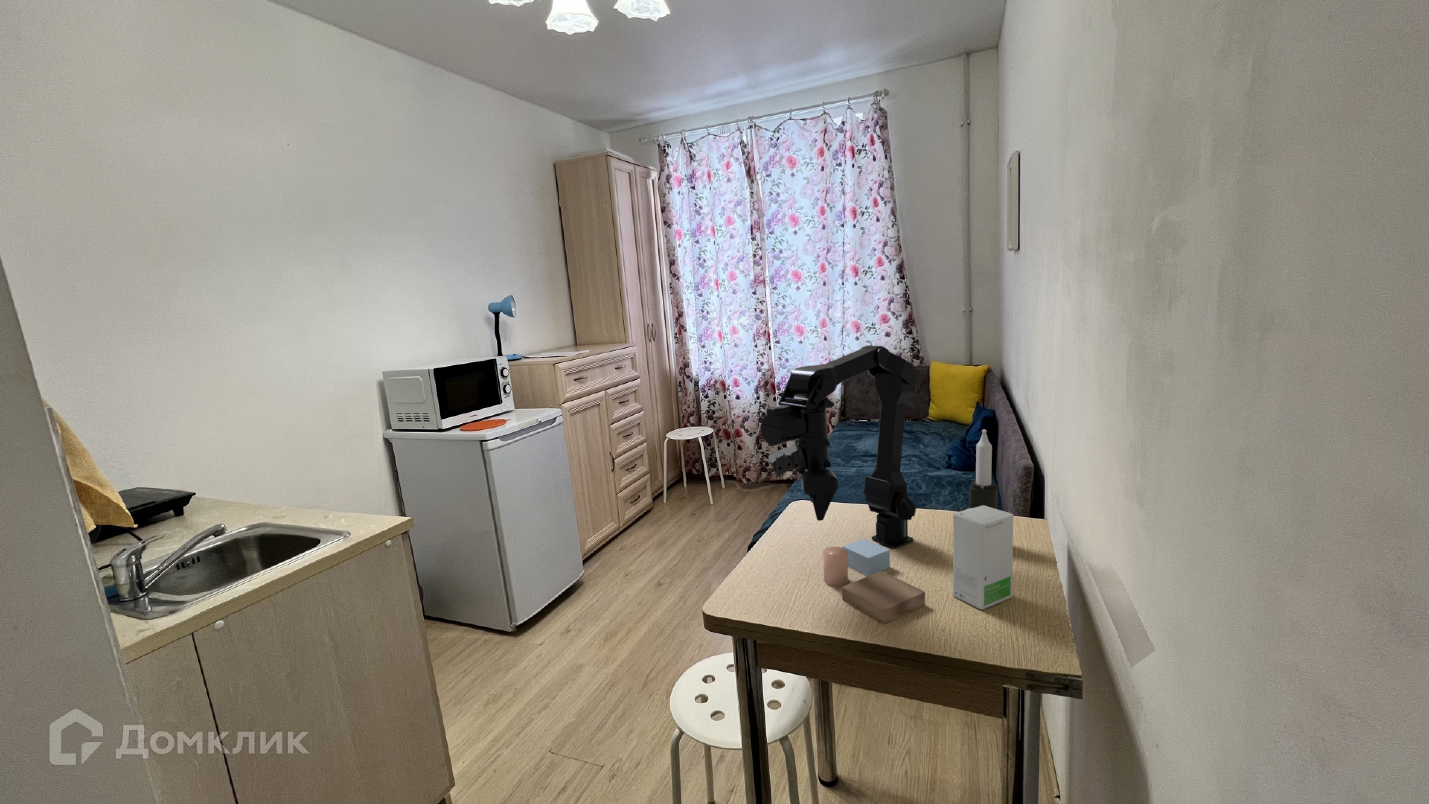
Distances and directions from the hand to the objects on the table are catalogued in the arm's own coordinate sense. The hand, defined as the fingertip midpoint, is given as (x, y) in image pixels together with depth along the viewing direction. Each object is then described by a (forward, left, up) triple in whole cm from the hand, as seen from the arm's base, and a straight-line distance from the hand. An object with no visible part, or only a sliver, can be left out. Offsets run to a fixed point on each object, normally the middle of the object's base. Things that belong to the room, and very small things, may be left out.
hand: (816, 510), depth 114 cm
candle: (-36, +11, -13) cm, 40 cm away
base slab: (-2, +15, -13) cm, 20 cm away
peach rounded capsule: (-1, +4, -13) cm, 14 cm away
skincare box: (-17, +24, -13) cm, 32 cm away
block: (-10, +3, -13) cm, 17 cm away
